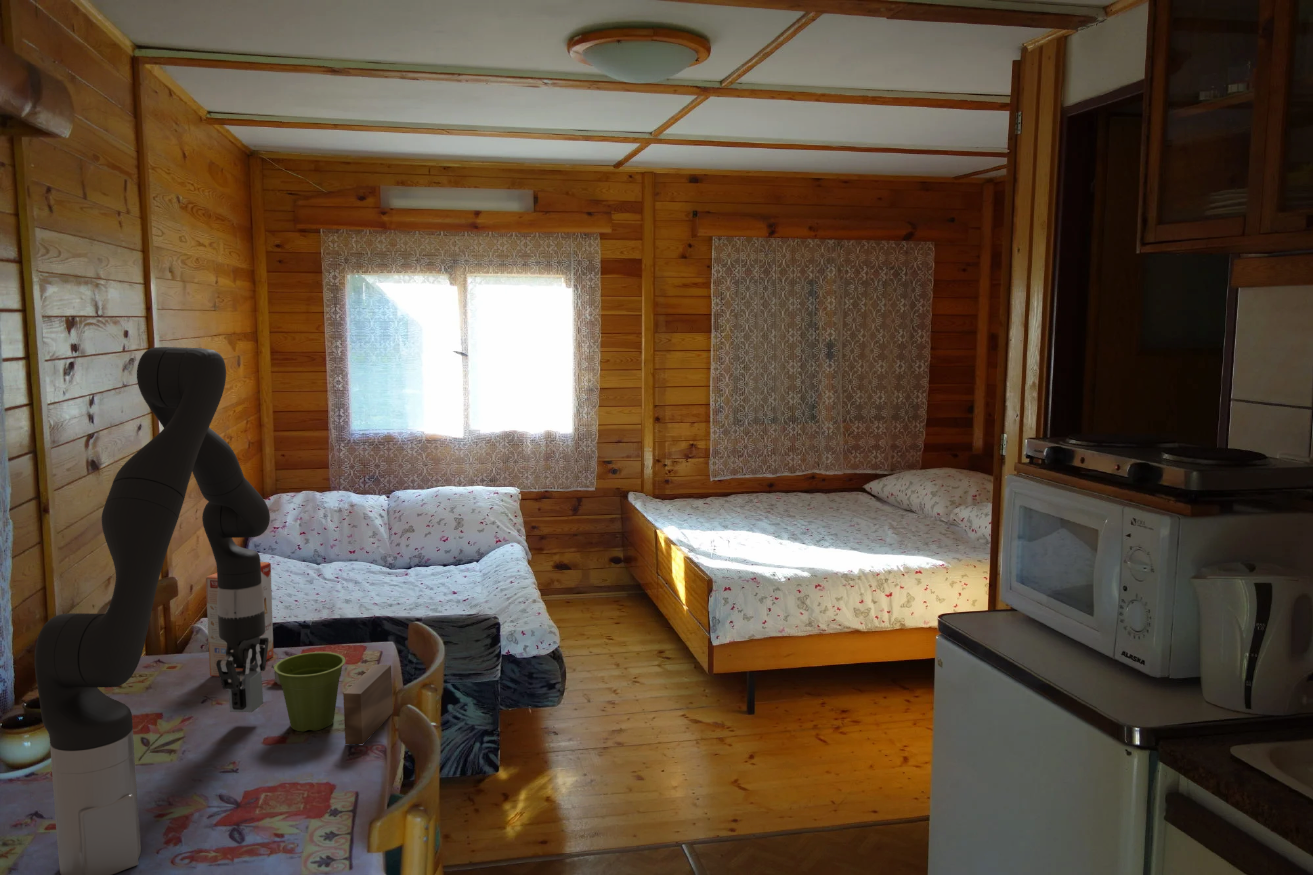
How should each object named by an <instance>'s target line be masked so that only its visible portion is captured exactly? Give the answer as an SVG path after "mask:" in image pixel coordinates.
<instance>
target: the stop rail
mask: <svg viewBox="0 0 1313 875" xmlns="http://www.w3.org/2000/svg"><path fill="white" fill-rule="evenodd" d="M392 680H393V679H392V664H380V663H379V664H377V663H376V664H374V665H373V666H372V667H371V668H370V669H369V670H366V672H365V673H364V674H363V675H362V676H361V677H359V679H357V680H356V681H355V682H354V683H353V684H352V685H351V686H350V687H348V689H346V690H345V691H344V692H343V695H342V696H343V697H342V698H343V718H344V741H345V742H344V744H363V743H364V742H365V741H366V740H367V739H368V738H369V737H370V736H371V735H372V734H373V735H374V733H375V732H377V730H378V729H379V728H380V727H381V726H382V725H383V723H385V721H386V720H388V719H389V717H390V716H391V715H392V714H393V712H394V711H393V710H394V709H393V707H394V706H393V684H392ZM373 732H374V733H373ZM373 735H372V736H373ZM372 736H371V737H372ZM371 737H370V738H371ZM370 738H369V739H370ZM369 739H368V740H369ZM368 740H367V741H368ZM367 741H366V742H367ZM366 742H365V743H366ZM365 743H364V744H365ZM364 744H363V745H364Z"/></svg>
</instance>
